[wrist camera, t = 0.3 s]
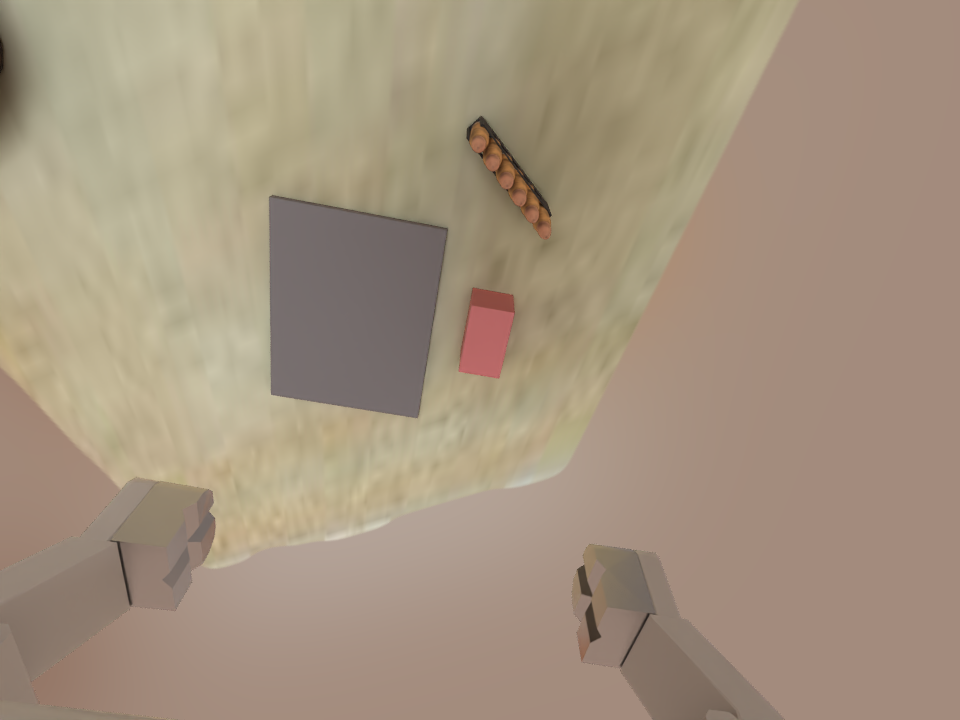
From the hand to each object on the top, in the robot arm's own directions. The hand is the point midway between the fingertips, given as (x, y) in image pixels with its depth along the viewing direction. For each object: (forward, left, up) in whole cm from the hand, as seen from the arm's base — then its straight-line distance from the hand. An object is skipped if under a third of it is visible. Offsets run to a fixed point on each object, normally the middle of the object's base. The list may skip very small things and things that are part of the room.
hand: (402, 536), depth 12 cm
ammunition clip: (-1, +4, -47) cm, 47 cm away
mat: (+18, -10, -47) cm, 51 cm away
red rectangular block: (+16, +5, -47) cm, 50 cm away
